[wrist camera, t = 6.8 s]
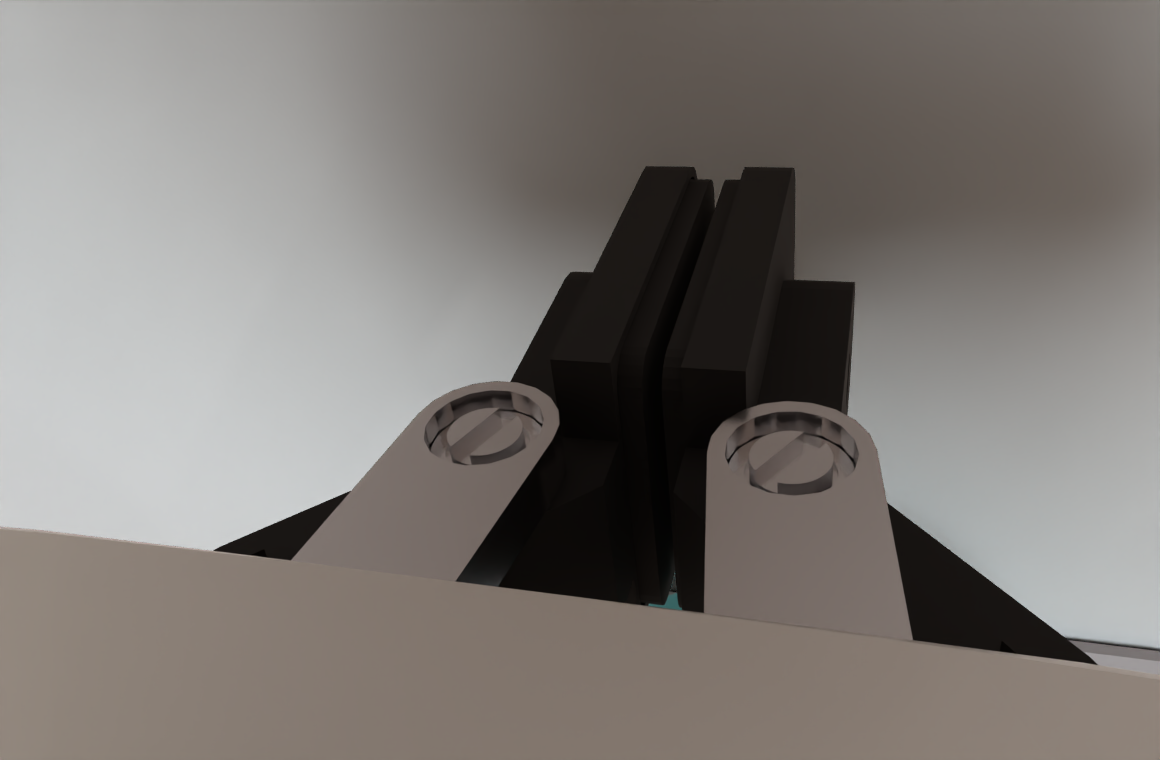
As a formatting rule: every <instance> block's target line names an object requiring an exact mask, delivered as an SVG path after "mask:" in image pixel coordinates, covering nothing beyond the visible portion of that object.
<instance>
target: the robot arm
mask: <svg viewBox="0 0 1160 760" xmlns="http://www.w3.org/2000/svg"><path fill="white" fill-rule="evenodd" d="M794 248H795V170H794V168H774V167H745V168H744V170H743V173H742V177H741V180H725V182H724V185H723V187H722V190H721V193H720V196H719V199H718V202H717V205H716V208H715V205H714V187H713V182H712V180H697V175H696V171H695V168H694V167H654V166H646V168H645V169H644V170H643V172H642V174H641V176H640V178H639V180H638V182H637V184H636V187H635V189H634V191H633V193H632V195H631V197H630V199H629V201H628V203H627V205H626V207H625V209H624V211H623V213H622V215H621V217H620V219H619V221H618V223H617V225H616V227H615V229H614V231H613V233H612V235H611V237H610V239H609V241H608V243H607V245H606V247H605V249H604V251H603V253H602V255H601V257H600V259H599V261H598V263H597V265H596V267H595V269H594V271H593V272H571V273H569V275H568V276H567V277H566V278H565V280H564V282H563V284H562V286H561V288H560V289H559V291H558V293H557V295H556V297H555V299H554V301H553V303H552V305H551V306H550V308H549V310H548V312H547V314H546V316H545V318H544V320H543V321H542V323H541V325H540V327H539V329H538V331H537V333H536V335H535V336H534V338H533V340H532V342H531V344H530V346H529V348H528V350H527V352H526V353H525V355H524V357H523V359H522V361H521V363H520V365H519V367H518V368H517V370H516V372H515V374H514V376H513V378H512V380H511V382H501V381H493V382H485V383H477V384H472V385H469V386H465V387H462V388H459V389H456V390H452V391H450V392H449V393H447V394H445V395H443V396H441V397H439V398H437V399H435V400H434V401H432V402H431V403H430V404H429V405H428V406H426V407H425V408H424V409H423V410H422V411H421V412H420V413H418V415H417V416H416V417H415V418H414V419H413V420H412V421H411V423H410V424H409V425H408V426H407V427H406V428H405V430H404V431H403V432H402V433H401V434H400V435H399V436H398V438H397V439H396V440H395V441H394V442H393V443H392V445H391V446H390V447H389V448H388V449H387V450H386V451H385V453H384V454H383V455H382V456H381V457H380V458H379V459H378V461H377V462H376V463H375V464H374V465H373V466H372V468H371V469H370V470H369V471H368V472H367V473H366V474H365V476H364V477H363V478H362V479H361V480H360V481H359V483H358V484H357V485H356V486H355V487H354V488H353V489H352V491H349V492H347V493H345V494H342V495H340V496H338V497H335V498H333V499H331V500H328V501H326V502H324V503H321V504H319V505H317V506H314V507H312V508H310V509H307V510H305V511H303V512H300V513H298V514H296V515H293V516H291V517H289V518H286V519H284V520H282V521H279V522H277V523H275V524H272V525H270V526H268V527H265V528H263V529H261V530H258V531H256V532H254V533H251V534H249V535H247V536H244V537H242V538H240V539H237V540H235V541H233V542H230V543H228V544H226V545H223V546H221V547H219V548H217V549H215V550H213V551H209V550H201V549H193V548H185V547H176V546H168V545H160V544H152V543H143V542H135V541H127V540H118V539H110V538H102V537H94V536H85V535H77V534H69V533H61V532H52V531H44V530H34V529H22V528H10V527H0V760H1160V675H1157V674H1151V673H1144V672H1138V671H1132V670H1125V669H1119V668H1113V667H1107V666H1100V665H1098V664H1097V663H1096V662H1095V661H1094V660H1093V659H1092V658H1091V657H1089V656H1088V655H1087V654H1086V653H1084V652H1083V651H1082V650H1080V649H1079V648H1078V647H1076V646H1075V645H1074V644H1072V643H1071V642H1070V641H1069V640H1067V639H1066V638H1065V637H1063V636H1062V635H1061V634H1059V633H1058V632H1057V631H1055V630H1054V629H1053V628H1051V627H1050V626H1049V625H1047V624H1046V623H1045V622H1043V621H1042V620H1041V619H1040V618H1038V617H1037V616H1036V615H1034V614H1033V613H1032V612H1030V611H1029V610H1028V609H1026V608H1025V607H1024V606H1022V605H1021V604H1020V603H1018V602H1017V601H1016V600H1015V599H1013V598H1012V597H1011V596H1009V595H1008V594H1007V593H1005V592H1004V591H1003V590H1001V589H1000V588H999V587H997V586H996V585H995V584H993V583H992V582H991V581H989V580H988V579H987V578H986V577H984V576H983V575H982V574H980V573H979V572H978V571H976V570H975V569H974V568H972V567H971V566H970V565H968V564H967V563H966V562H964V561H963V560H962V559H960V558H959V557H958V556H957V555H955V554H954V553H953V552H951V551H950V550H949V549H947V548H946V547H945V546H943V545H942V544H941V543H939V542H938V541H937V540H935V539H934V538H933V537H931V536H930V535H929V534H928V533H926V532H925V531H924V530H922V529H921V528H920V527H918V526H917V525H916V524H914V523H913V522H912V521H910V520H909V519H908V518H906V517H905V516H904V515H902V514H901V513H900V512H899V511H897V510H896V509H895V508H893V507H892V506H891V505H889V504H888V503H887V500H886V495H885V489H884V484H883V479H882V474H881V468H880V463H879V458H878V452H877V449H876V447H875V444H874V442H873V440H872V438H871V435H870V434H869V433H868V432H867V431H866V430H865V429H864V428H863V427H862V426H861V425H860V424H859V423H858V422H857V421H856V420H855V419H853V418H851V417H849V416H847V412H848V400H849V386H850V372H851V356H852V338H853V320H854V300H855V282H836V281H809V280H794ZM674 571H675V574H676V586H677V599H678V605H679V607H680V608H682V610H676V609H669V608H661V607H653V606H648V605H649V604H656V605H665V603H666V601H667V598H668V595H669V591H670V587H671V583H672V579H673V575H674Z"/></svg>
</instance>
